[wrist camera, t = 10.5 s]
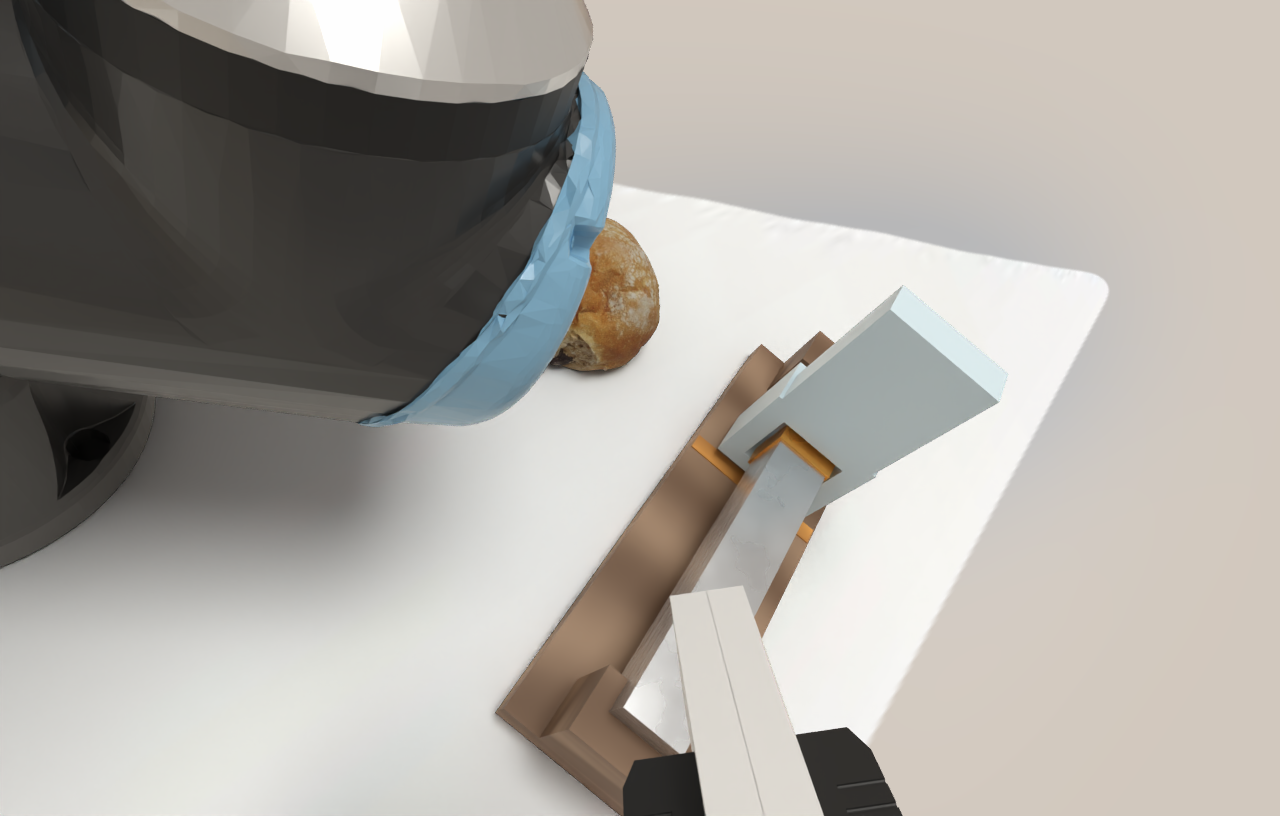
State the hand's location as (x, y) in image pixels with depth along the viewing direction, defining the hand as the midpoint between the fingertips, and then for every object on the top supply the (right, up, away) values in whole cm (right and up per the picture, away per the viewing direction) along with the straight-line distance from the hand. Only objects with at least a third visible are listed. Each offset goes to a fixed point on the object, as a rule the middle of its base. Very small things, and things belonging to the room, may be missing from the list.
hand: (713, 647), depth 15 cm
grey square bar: (+4, -1, +23) cm, 23 cm away
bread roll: (-6, +11, +30) cm, 32 cm away
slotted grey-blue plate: (+6, +1, +27) cm, 28 cm away
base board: (+2, -3, +26) cm, 26 cm away
